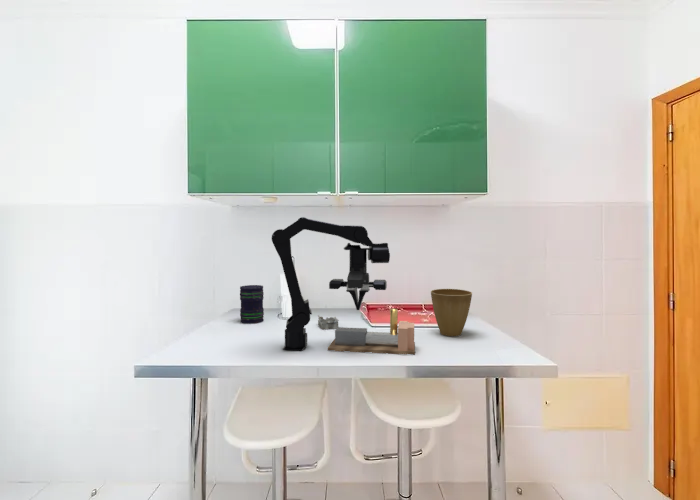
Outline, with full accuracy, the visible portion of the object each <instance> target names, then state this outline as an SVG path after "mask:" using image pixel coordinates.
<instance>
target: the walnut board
mask: <svg viewBox="0 0 700 500" xmlns="http://www.w3.org/2000/svg"><path fill="white" fill-rule="evenodd" d="M415 348H416V342H415V341H414V350H408V351H398V344H376V343H367V344H366V346H365V347H364V346H342V345H335V338H334V339H333V340H332V341H331V343H330V344H329V345H328V346H327V351H328V350H335V351H334V352H344V351H350V352H349V353H365V352H372V353H371V354H386V353H388V354H390V355H392V354H393V355H407V354H413V355H412V356H415V354H416V352H415V351H416V349H415Z"/></svg>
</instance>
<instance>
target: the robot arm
mask: <svg viewBox="0 0 700 500" xmlns="http://www.w3.org/2000/svg"><path fill="white" fill-rule="evenodd" d="M305 230H306V231H311V232H316V233H321V234H326V235H331V236H335V237H340V238H342V239H345V240H347V241H349V242H348V243H347V244H346V245H345V246H344V247H343V250H344V251H349V268H348V269H349V271H348V275H347V278H346V281H344V279H343V278H333V279H331V280H330V281H329V282H328V283H329V284H328V289H330V290H338V289H340V288H343V287H344V288H346V291H345V292H346V293H347V292H348V293H349V294H350V295H351V298H352V299H353V303H354V306H355V309H356V311H360V310H361V307H362V303H363V301H364V297H365V295H366V294H367V293H369V291H370V290H371V289H370V288H374V290H375V291H386V290H387V286H388V284H387V282H388V281H387V280H386V279H374V280H373V281H370V273H369V272H368V271H367V268H368V267H367V263H368V262H367V260H368V261H370V263H371V264H389V263H390V257H391V253H390V248H389V243H387V242H381V243H374V242H373V240H371V239H370V238H369V236H368V235H369V233H368V230H367V229H366V228H365V227H364V226H362V225H345V224H344V225H341V224H335V223H329V222H325V221H320V220H316V219H311V218H307V217H305V216H302V217H300V218H298V219H297V220H295V221H294V222H293V223H291V224H290V225H288V226H287V227H285V228H284V229H282V228H279V229H276V230H274V232H273V233H272V234H271V242H272V244H273V246H274V248H275V251H276V252H277V254H278V257H279V258H280V262H281V265H282V270H283V273H284V278H285V281H286V285H287V289H288V293H289V296H290V301H291V302H290V303H291V316H290V317H289V318H288V319H287V320H286V324H285V325H286V326H285V329H284V347H283V348H282V350H284V351H288V350H289V351H304V349H306V347H307V346H308V332H307V329H306V326H307V325H308V324H309V323H310V321H311V315H313V313H312V309H311V308H310V302H309V301H310V300H309V299H308V298H307V299H304V297H303V295H302V292H301V287H300V282H299V279H298V276H297V272H296V267H295V264H294V261H293V256H292V245H291V239H292V238H293V237H295V236H296V235H298V234H299V233H300V232H302V231H305ZM351 242H352V243H355V244H351ZM360 244H361V245H363V246H365V247H361V245H360ZM358 289H359V291H358Z"/></svg>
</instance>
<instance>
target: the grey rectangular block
mask: <svg viewBox="0 0 700 500" xmlns="http://www.w3.org/2000/svg"><path fill="white" fill-rule="evenodd" d="M366 332H368V328H367V327H366V328H365V327H364V328H363V327H362V328H361V327H343V326H341V327H340V326H338V328H336V329H334V339H335V345H342V346H364V347H365V346H366V344H367V343H366Z"/></svg>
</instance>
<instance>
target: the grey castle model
mask: <svg viewBox="0 0 700 500" xmlns="http://www.w3.org/2000/svg"><path fill="white" fill-rule="evenodd" d="M317 317H318V320H317V325H318V326H319V328H321V329H322V330H325V331H326V330H327V331H328V330H329V329H330V330H336V329H337V328H338V327H339V321H340V320H339V319H338V318H337V317H336V316H334V317H332V316H331V317H326V318H325V319H324V317H323V316H320V314H318V315H317Z"/></svg>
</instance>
